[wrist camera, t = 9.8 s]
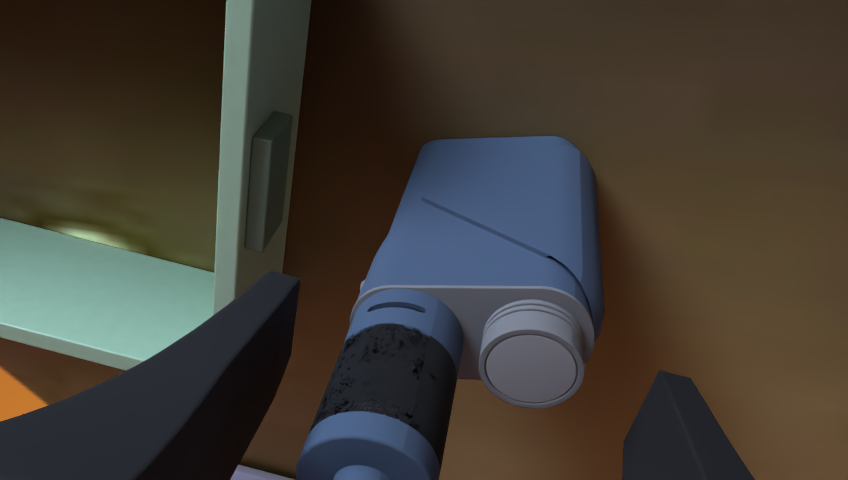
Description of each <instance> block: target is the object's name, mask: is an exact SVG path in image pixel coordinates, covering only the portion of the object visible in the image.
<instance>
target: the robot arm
mask: <svg viewBox="0 0 848 480" xmlns="http://www.w3.org/2000/svg"><path fill="white" fill-rule="evenodd" d="M300 279H301V278H298V277H294V276H290V275H286V274H282V273H278V272H274V271H269V272H267V273H265V274H264V275H263V276H262V277H261V278H259V279H258V280H257V281H256V282H255V283H254V284H252V285H251V286H250V287H249V288H248V289H246V290H245V291H244V292H243V293H242V294H240V295H239V296H238V297H237V298H235V299H234V300H233V301H232V302H230V303H229V304H228V305H226V306H225V307H224V308H223V309H221V310H220V311H218V312H217V313H216V314H214V315H213V316H212V317H210V318H209V319H208V320H206V321H205V322H204V323H202V324H201V325H200V326H198V327H197V328H195V329H194V330H192V331H191V332H189V333H188V334H186V335H185V336H183V337H182V338H180V339H179V340H177V341H176V342H174V343H173V344H171V345H170V346H168V347H167V348H165V349H163V350H162V351H160V352H159V353H157V354H155V355H153V356H152V357H150V358H148V359H147V360H145V361H143V362H141V363H140V364H138V365H136V366H134V367H132V368H130V369H129V370H127V371H125V372H123V373H121V374H119V375H117V376H115V377H113V378H111V379H109V380H107V381H105V382H103V383H101V384H98V385H96V386H94V387H92V388H90V389H87V390H85V391H83V392H81V393H78V394H76V395H74V396H72V397H69V398H67V399H64V400H61V401H59V402H56V403H54V404H51V405H48V406H46V407H43V408H40V409H37V410H34V411H32V412H29V413H26V414H23V415H20V416H18V417H14V418H11V419H8V420H4V421H1V422H0V480H295V479H291V478H288V477H284V476H280V475H276V474H273V473H269V472H265V471H261V470H258V469H254V468H250V467H246V466H243V465H239V463H240V461H241V459H242V457H243V455H244V453H245V451H246V450H247V448H248V446H249V444H250V442H251V440H252V439H253V437H254V435H255V433H256V431H257V429H258V427H259V426H260V424H261V422H262V420H263V418H264V416H265V414H266V412H267V411H268V409H269V407H270V405H271V403H272V401H273V399H274V397H275V395H276V392H277V390H278V387H279V385H280V382H281V380H282V377H283V374H284V372H285V369H286V367H287V364H288V361H289V359H290V356H291V351H292V343H293V335H294V327H295V319H296V311H297V303H298V295H299V287H300ZM622 480H755V479H754V478H753V476H752V475H751V473H750V472H749V471H748V469H747V468H746V466H745V465H744V463H743V462H742V460H741V458H740V457H739V455H738V454H737V452H736V451H735V449H734V448H733V446H732V445H731V443H730V441H729V440H728V438H727V437H726V435H725V434H724V432H723V430H722V429H721V427H720V425H719V424H718V422H717V421H716V419H715V417H714V416H713V414H712V412H711V411H710V409H709V407H708V406H707V404H706V402H705V401H704V399H703V398H702V396H701V394H700V393H699V391H698V389H697V388H696V386H695V385H694V383H693V381H692V380H691V378H688V377H684V376H680V375H676V374H672V373H668V372H664V371H661V370H659V372H658V374H657V376H656V378H655V380H654V382H653V384H652V386H651V388H650V390H649V392H648V394H647V396H646V398H645V400H644V402H643V404H642V406H641V408H640V410H639V412H638V414H637V416H636V418H635V420H634V422H633V424H632V426H631V428H630V430H629V432H628V434H627V436H626V438H625V440H624V448H623V476H622Z"/></svg>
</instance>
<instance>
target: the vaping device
mask: <svg viewBox="0 0 848 480" xmlns="http://www.w3.org/2000/svg"><path fill="white" fill-rule="evenodd" d="M604 312H605V310H604V294H603V278H602V262H601V246H600V231H599V215H598V199H597V186H596V179H595V173H594V171H593V169H592V167H591V165H590V163H589V161H588V159H587V158H586V157H585V156H584V155H583V154H582V153H581V152H580V151H579V150H578V149H577V148H576V147H575V146H574V145H573V144H572V143H571V142H569V141H568V140H566V139H563V138H560V137H556V136H532V137H500V138H469V139H440V140H434V141H431V142H428V143H426V144H425V145H423V146H422V147H421V150H420V152H419V155H418V157H417V160H416V163H415V165H414V168H413V171H412V173H411V176H410V178H409V181H408V184H407V186H406V189H405V191H404V194H403V197H402V199H401V202H400V205H399V207H398V210H397V212H396V215H395V218H394V220H393V223H392V225H391V228H390V231H389V233H388V235H387V237H386V239H385V240H384V242H383V243H382V245H381V247H380V248H379V250H378V251H377V253H376V255H375V257H374V259H373V262H372V264H371V267H370V269H369V272H368V274H367V277H366V279H365V280H364V281H362V283H361V285H360V295H359V297H358V300H357V302H356V303H355V305H354V307H353V309H352V312H351V316H350V324H349V326H350V328H349V331H348V334H347V336H346V339H345V341H344V344H343V346H342V349H341V352H340V354H339V357H338V359H337V362H336V364H335V367H334V370H333V372H332V375H331V377H330V380H329V383H328V385H327V388H326V390H325V393H324V395H323V398H322V401H321V403H320V406H319V408H318V411H317V414H316V416H315V419H314V421H313V424H312V426H313V427H312V426H311V429H310V432H309V434H308V437H307V439H306V442H305V444H304V447H303V450H302V452H301V455H300V457H299V460H298V463H297V469H296V475H297V480H439V475H440V470H441V464H442V459H443V453H444V448H445V442H446V437H447V431H448V426H449V420H450V415H451V409H452V404H453V398H454V393H455V387H456V382H457V379H475V380H482V381H483V383H484V384H485V386H486V387H487V388H488V389H489V390H490V391H491V392H492V393H493V394H494V395H495V396H497V397H498V398H499V399H501V400H503V401H505V402H507V403H510V404H512V405H515V406H520V407H524V408H545V407H551V406H554V405H558V404H560V403H562V402H564V401H566V400H567V399H569V398H570V397H572V396H573V395H574V394H575V393H576V392H577V391H578V389H579V387H580V386H581V384H582V381H583V379H584V364H585V363H586V362H587V361H588V359H589V357H590V355H591V353H592V350H593V347H594V343H595V341H596V339H597V338H598V336H599V334H600V331H601V327H602V322H603V317H604ZM329 386H330V387H329ZM338 410H339V411H338ZM317 418H318V419H317ZM314 425H316V426H315V427H314ZM416 430H417V431H416ZM418 430H419V431H418Z"/></svg>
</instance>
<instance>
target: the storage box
mask: <svg viewBox="0 0 848 480" xmlns="http://www.w3.org/2000/svg"><path fill="white" fill-rule="evenodd" d="M310 9H311V0H226V19H225V43H224V66H223V89H222V112H221V135H220V158H219V181H218V205H217V228H216V251H215V273H213V272H209V271H205V270H201V269H197V268H193V267H190V266H186V265H182V264H178V263H174V262H170V261H166V260H162V259H159V258H155V257H151V256H147V255H143V254H139V253H135V252H131V251H128V250H124V249H120V248H116V247H112V246H108V245H104V244H100V243H96V242H93V241H89V240H85V239H81V238H77V237H73V236H69V235H65V234H62V233H58V232H54V231H50V230H46V229H42V228H38V227H34V226H31V225H27V224H23V223H19V222H15V221H11V220H7V219H3V218H0V337H1V338H4V339H8V340H12V341H16V342H20V343H23V344H27V345H31V346H35V347H39V348H42V349H46V350H50V351H54V352H58V353H61V354H65V355H69V356H73V357H77V358H80V359H84V360H88V361H92V362H96V363H99V364H103V365H107V366H111V367H115V368H118V369H122V370H126V371H127V370H129V369H130V368H132V367H134V366H136V365H138V364H140V363H141V362H143V361H145V360H147V359H148V358H150V357H152V356H153V355H155V354H157V353H159V352H160V351H162V350H163V349H165V348H167V347H168V346H170V345H171V344H173V343H174V342H176V341H177V340H179V339H180V338H182V337H183V336H185V335H186V334H188V333H189V332H191V331H192V330H194V329H195V328H197V327H198V326H200V325H201V324H202V323H204V322H205V321H206V320H208V319H209V318H210V317H212V316H213V315H214V314H216V313H217V312H218V311H220V310H221V309H223V308H224V307H225V306H226V305H228V304H229V303H230V302H232V301H233V300H234V299H235V298H237V297H238V296H239V295H240V294H242V293H243V292H244V291H245V290H246V289H248V288H249V287H250V286H251V285H252V284H254V283H255V282H256V281H257V280H258V279H259V278H261V277H262V276H263V275H264V274H265V273H267V272H269V271H274V272H278V273H282V272H283V262H284V253H285V243H286V234H287V225H288V215H289V206H290V197H291V187H292V178H293V168H294V159H295V150H296V140H297V131H298V122H299V112H300V103H301V93H302V84H303V75H304V65H305V56H306V47H307V37H308V28H309V18H310Z"/></svg>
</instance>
